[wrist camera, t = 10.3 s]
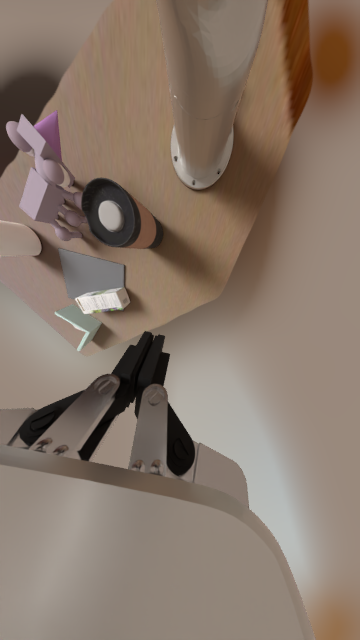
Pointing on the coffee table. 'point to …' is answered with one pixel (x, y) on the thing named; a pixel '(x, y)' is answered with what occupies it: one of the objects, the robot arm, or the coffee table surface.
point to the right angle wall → (80, 322)
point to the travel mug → (118, 216)
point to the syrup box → (103, 300)
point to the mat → (89, 273)
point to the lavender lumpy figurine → (46, 174)
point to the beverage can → (18, 240)
